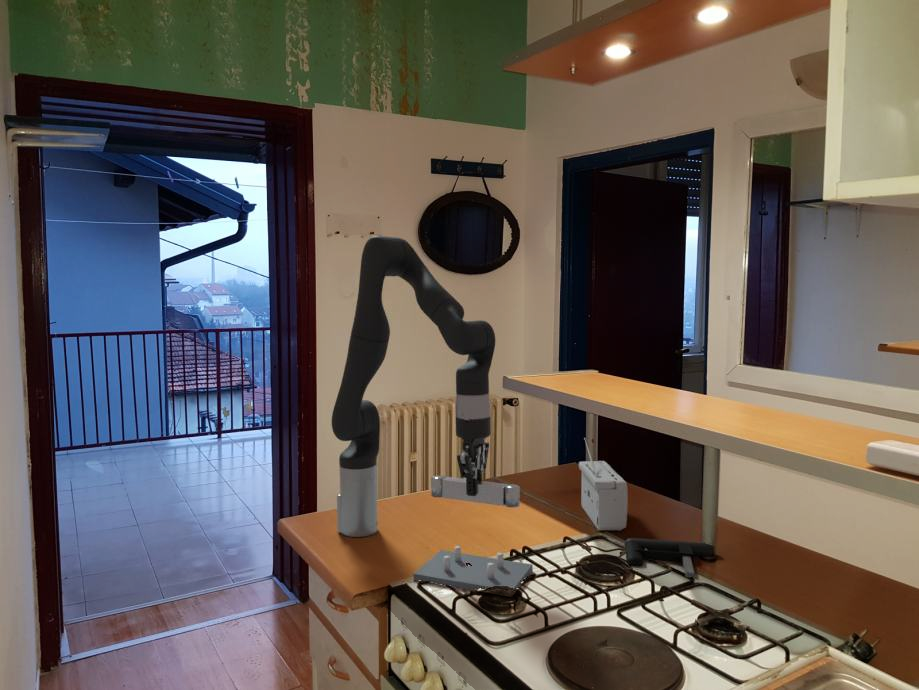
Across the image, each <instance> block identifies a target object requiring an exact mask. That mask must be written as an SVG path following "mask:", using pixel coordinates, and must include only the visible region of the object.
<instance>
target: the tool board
mask: <svg viewBox="0 0 919 690" xmlns="http://www.w3.org/2000/svg"><path fill="white" fill-rule="evenodd" d="M466 563H470V564H471V565H472V566H467V565H466ZM533 567H534V566H533V564H532V563H525V562H519V561H512V560H506V559H504V553H503V552H497V553H496V558H493V557H487V556H480V555H475V554H469V553H463V552H462V547H461V546H460V545H456V546H454V551H450V550H443V549H440V550H439V551H438V552H436V554H434V555H433V556H432V557H431V558H430V559H429V560H428V561H426V562H425V563H424V564H423V565H422V566H421V567H419V568H418V569H416V571H415V572H414V573H413V574H412V575H413V577H412V578H413V581H414V580H421V581H430V582H433V583H437V584H442V585H446V584H448V585H451V586H453V587H456V588H455V589H458V588H463V589H462V590H464V589H465V591H470V592H474V591H473V590H475V589H477V588H481V589H485V588H489V587H493V586H508V587H510V588H513V589H514V588H519V587H520V585H521V582H522V581H523V579H524V578H525V577H527V576H528V577H530V575H531V574H532V573H533ZM442 585H441V586H442ZM453 587H452V588H453ZM520 588H521V587H520ZM520 588H519V589H520Z"/></svg>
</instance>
